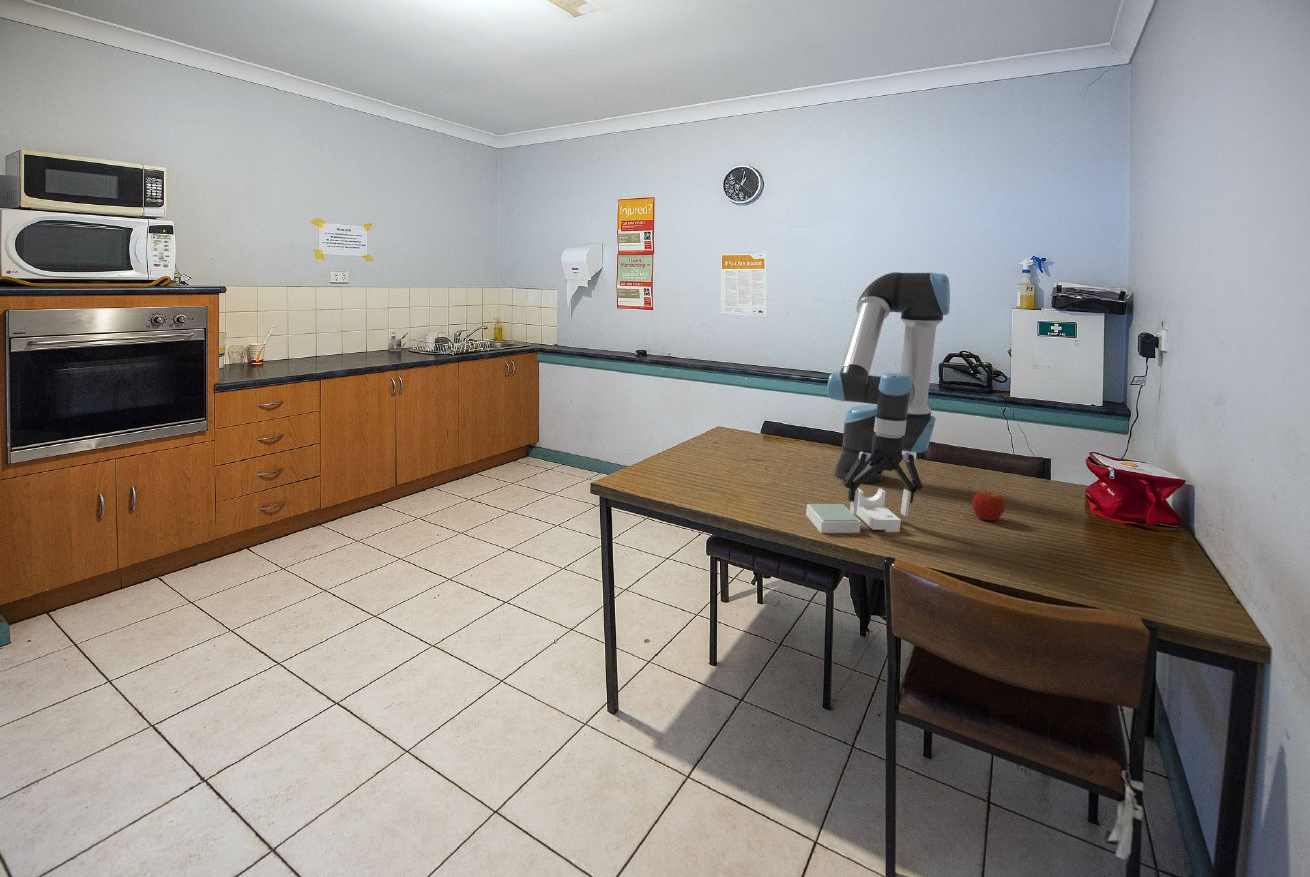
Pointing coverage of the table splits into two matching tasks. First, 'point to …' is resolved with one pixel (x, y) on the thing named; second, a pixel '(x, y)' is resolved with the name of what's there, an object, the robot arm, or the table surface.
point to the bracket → (877, 512)
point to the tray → (833, 518)
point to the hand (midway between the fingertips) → (878, 514)
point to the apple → (988, 505)
